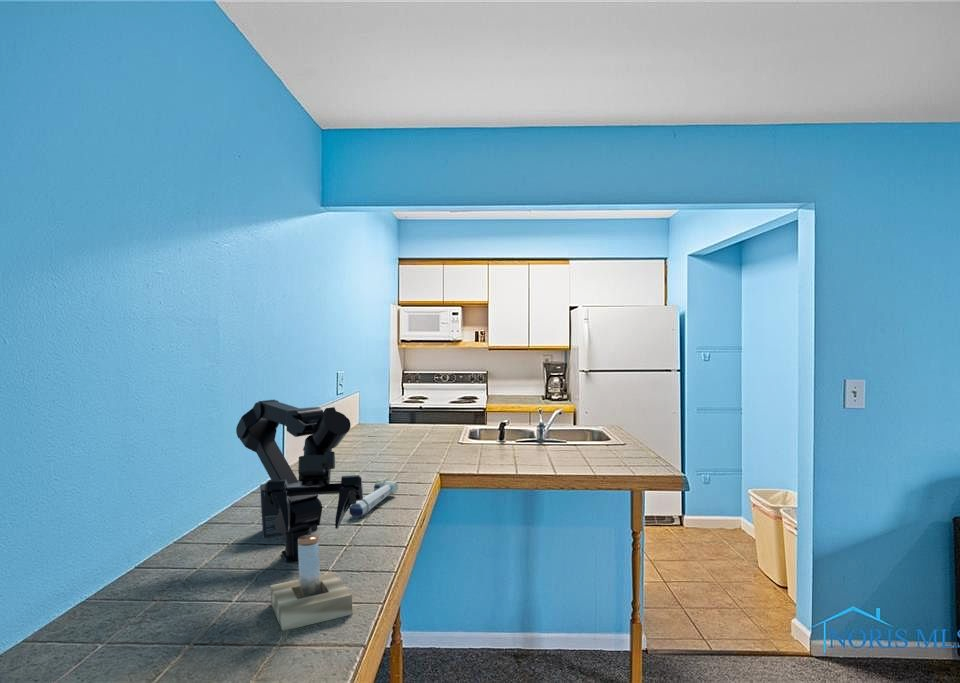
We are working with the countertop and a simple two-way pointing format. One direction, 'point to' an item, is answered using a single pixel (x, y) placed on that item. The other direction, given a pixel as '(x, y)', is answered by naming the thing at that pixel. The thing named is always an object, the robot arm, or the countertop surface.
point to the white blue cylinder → (373, 497)
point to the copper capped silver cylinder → (309, 565)
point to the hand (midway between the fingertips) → (312, 529)
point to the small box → (270, 516)
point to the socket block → (310, 602)
